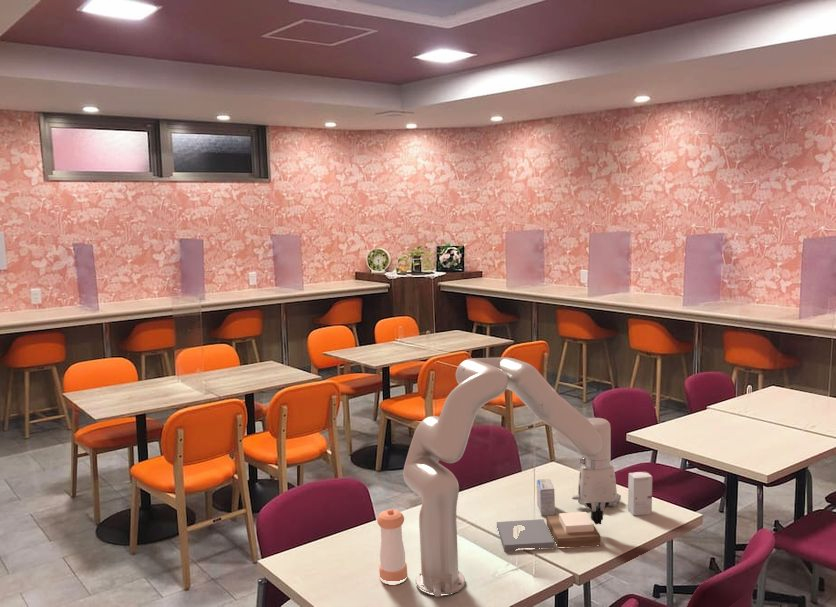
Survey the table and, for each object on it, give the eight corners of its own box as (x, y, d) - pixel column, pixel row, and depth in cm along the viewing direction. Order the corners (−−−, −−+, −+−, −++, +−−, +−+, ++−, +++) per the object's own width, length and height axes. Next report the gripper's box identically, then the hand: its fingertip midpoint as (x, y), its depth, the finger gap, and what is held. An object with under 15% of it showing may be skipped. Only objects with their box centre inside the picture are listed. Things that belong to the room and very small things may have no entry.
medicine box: (555, 515, 219) (554, 489, 218) (540, 516, 219) (540, 489, 218) (551, 504, 227) (550, 478, 225) (536, 504, 227) (536, 479, 226)
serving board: (600, 545, 200) (600, 535, 199) (557, 548, 199) (557, 538, 199) (586, 522, 213) (586, 513, 213) (546, 525, 213) (546, 515, 212)
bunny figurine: (627, 493, 223) (589, 499, 217) (626, 509, 224) (588, 515, 217) (607, 483, 232) (570, 488, 225) (605, 498, 232) (568, 503, 226)
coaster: (593, 531, 202) (593, 524, 202) (565, 532, 202) (565, 526, 201) (585, 518, 210) (585, 511, 210) (559, 519, 210) (558, 513, 209)
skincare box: (633, 516, 216) (633, 478, 215) (627, 509, 221) (627, 472, 219) (652, 514, 217) (653, 476, 215) (646, 507, 222) (646, 470, 220)
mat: (554, 548, 199) (554, 542, 199) (504, 551, 199) (504, 545, 198) (543, 525, 213) (543, 519, 213) (496, 528, 212) (496, 522, 212)
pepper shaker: (392, 568, 193) (389, 501, 190) (413, 576, 188) (410, 507, 185) (374, 579, 187) (370, 511, 184) (395, 588, 182) (391, 518, 179)
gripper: (574, 468, 199) (574, 529, 202) (627, 465, 200) (626, 526, 203) (567, 458, 207) (568, 517, 209) (618, 455, 207) (618, 514, 210)
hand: (596, 522), depth 206 cm, fingers closed
